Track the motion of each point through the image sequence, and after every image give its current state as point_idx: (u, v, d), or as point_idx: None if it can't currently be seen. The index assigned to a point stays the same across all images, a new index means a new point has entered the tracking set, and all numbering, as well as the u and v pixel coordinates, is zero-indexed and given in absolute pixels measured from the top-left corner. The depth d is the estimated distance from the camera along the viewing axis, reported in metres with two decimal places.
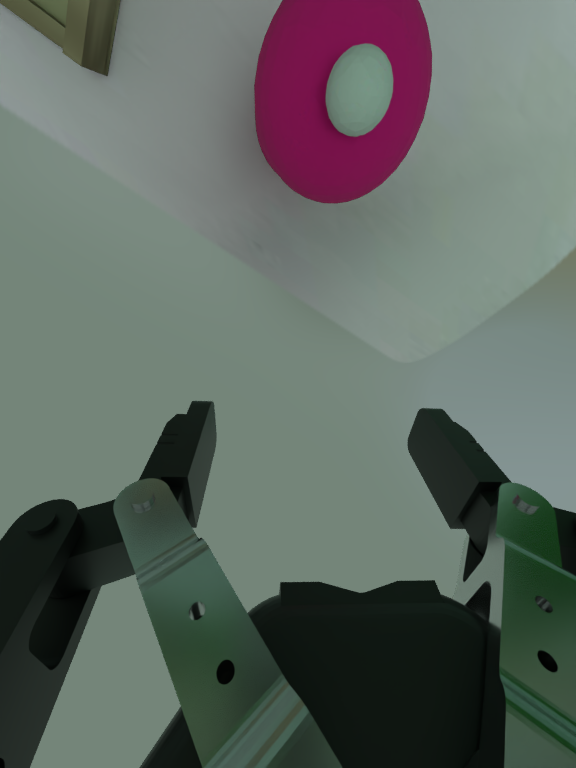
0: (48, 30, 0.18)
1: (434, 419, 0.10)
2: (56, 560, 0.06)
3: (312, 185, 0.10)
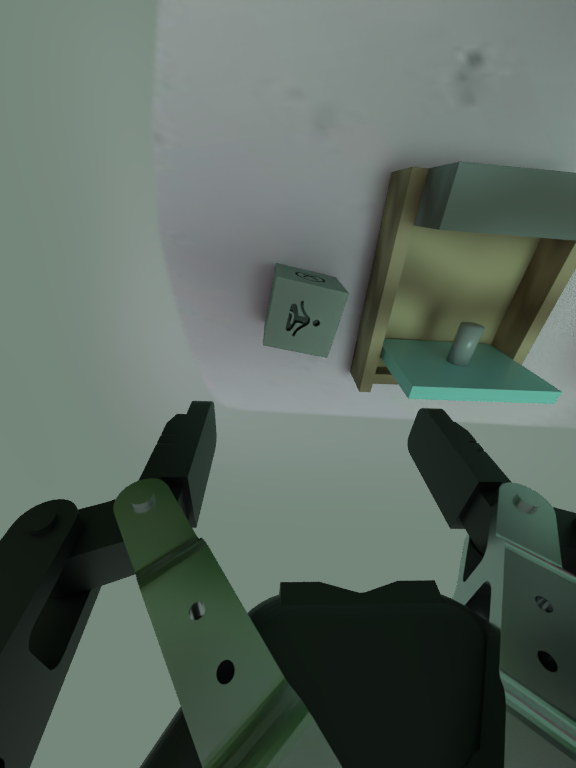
0: None
1: (434, 419, 0.10)
2: (56, 560, 0.06)
3: None
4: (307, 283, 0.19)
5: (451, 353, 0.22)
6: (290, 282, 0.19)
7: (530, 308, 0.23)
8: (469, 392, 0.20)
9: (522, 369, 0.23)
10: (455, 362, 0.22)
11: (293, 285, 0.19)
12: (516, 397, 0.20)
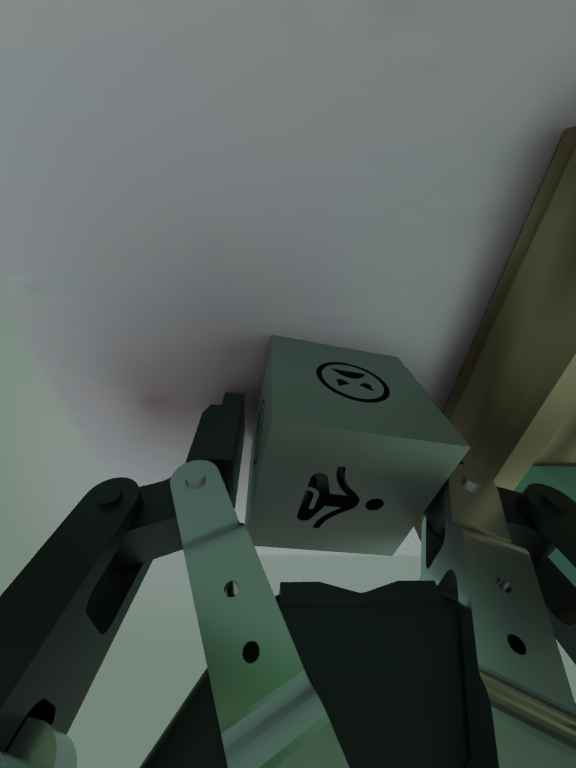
0: None
1: None
2: (117, 534, 0.06)
3: None
4: (358, 428, 0.07)
5: None
6: (310, 431, 0.07)
7: None
8: None
9: None
10: None
11: (319, 437, 0.07)
12: None
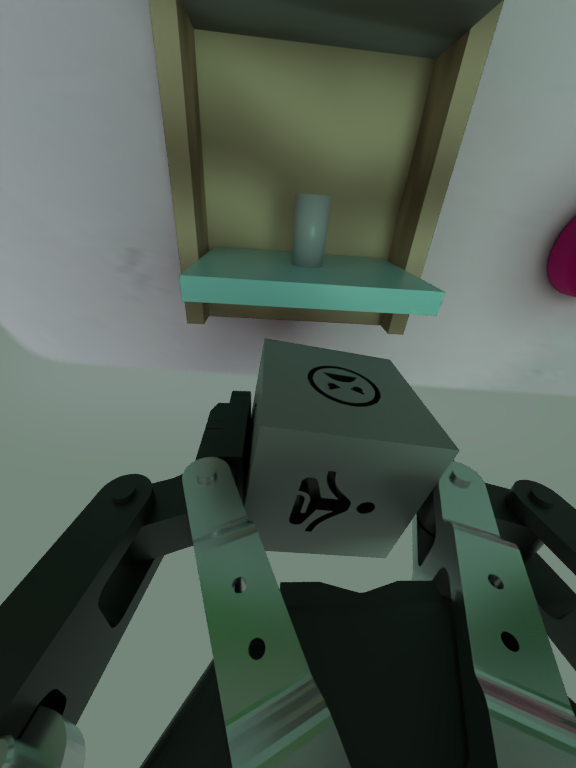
0: (359, 319, 0.19)
1: None
2: (129, 530, 0.06)
3: None
4: (347, 433, 0.07)
5: (292, 248, 0.14)
6: (299, 436, 0.07)
7: (421, 183, 0.15)
8: (284, 290, 0.12)
9: (404, 274, 0.14)
10: (297, 261, 0.14)
11: (308, 442, 0.07)
12: (369, 301, 0.12)
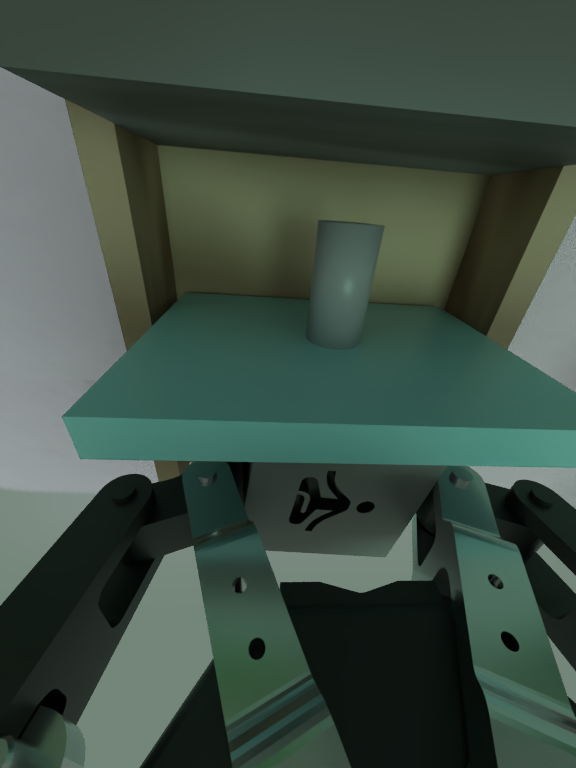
0: None
1: None
2: (129, 530, 0.06)
3: None
4: None
5: (309, 314, 0.08)
6: None
7: None
8: (300, 436, 0.05)
9: (505, 357, 0.08)
10: (317, 338, 0.08)
11: None
12: (477, 450, 0.06)
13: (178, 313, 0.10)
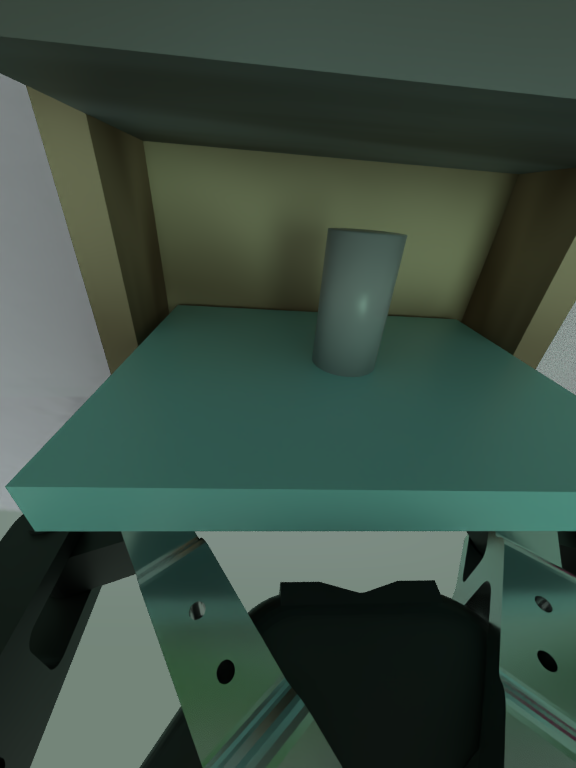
0: None
1: None
2: (56, 560, 0.06)
3: None
4: None
5: (316, 335, 0.07)
6: None
7: None
8: (310, 504, 0.04)
9: (542, 385, 0.07)
10: (326, 364, 0.07)
11: None
12: (527, 515, 0.05)
13: (167, 331, 0.08)
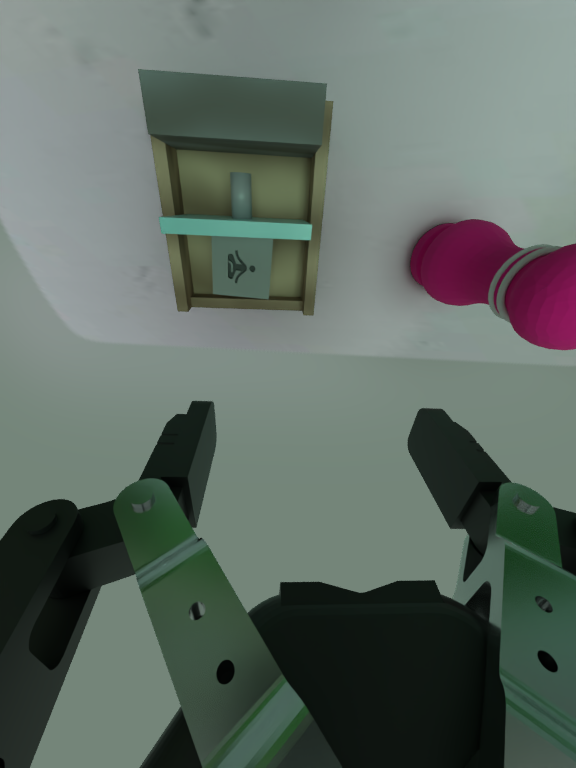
0: (287, 306, 0.30)
1: (434, 419, 0.10)
2: (56, 560, 0.06)
3: None
4: None
5: None
6: None
7: None
8: (219, 225, 0.20)
9: None
10: (234, 215, 0.23)
11: (226, 237, 0.24)
12: (269, 231, 0.21)
13: None
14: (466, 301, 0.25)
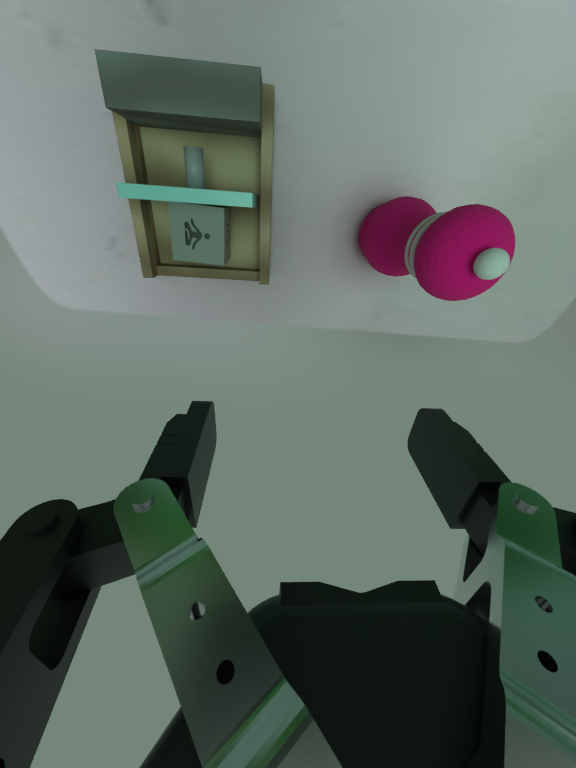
0: (246, 277, 0.33)
1: (434, 419, 0.10)
2: (56, 560, 0.06)
3: (466, 297, 0.20)
4: (192, 203, 0.26)
5: (186, 179, 0.26)
6: (178, 204, 0.26)
7: None
8: (169, 191, 0.23)
9: None
10: (188, 186, 0.26)
11: (181, 206, 0.26)
12: (214, 198, 0.23)
13: None
14: (398, 269, 0.28)
